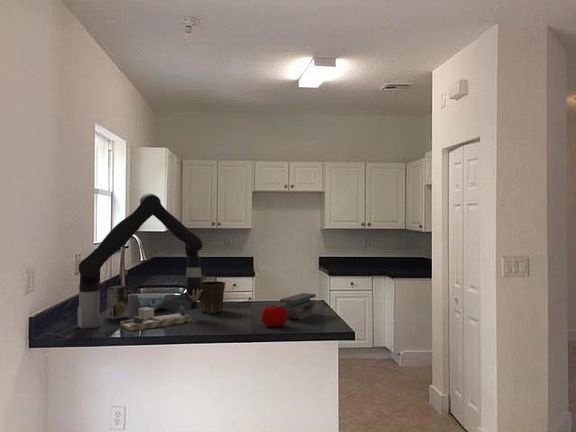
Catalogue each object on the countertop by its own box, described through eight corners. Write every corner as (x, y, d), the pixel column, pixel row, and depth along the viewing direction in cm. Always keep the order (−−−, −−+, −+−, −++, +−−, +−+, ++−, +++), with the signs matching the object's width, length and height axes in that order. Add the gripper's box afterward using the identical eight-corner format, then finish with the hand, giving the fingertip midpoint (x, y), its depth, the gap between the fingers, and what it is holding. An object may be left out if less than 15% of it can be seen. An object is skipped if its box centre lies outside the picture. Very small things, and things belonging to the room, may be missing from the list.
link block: (144, 321, 264) (144, 309, 264) (138, 319, 269) (138, 308, 269) (153, 320, 267) (153, 308, 267) (147, 318, 272) (147, 306, 272)
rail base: (131, 330, 242) (131, 321, 242) (119, 326, 252) (119, 317, 252) (191, 321, 263) (191, 312, 263) (178, 318, 273) (178, 309, 273)
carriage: (160, 322, 254) (160, 311, 254) (152, 319, 261) (152, 309, 261) (189, 318, 265) (189, 307, 265) (180, 315, 272) (180, 305, 272)
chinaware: (149, 312, 290) (149, 298, 290) (132, 309, 299) (132, 296, 299) (170, 308, 302) (170, 295, 302) (153, 306, 311) (153, 293, 311)
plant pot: (200, 315, 281) (200, 285, 281) (193, 310, 296) (193, 282, 296) (229, 313, 288) (229, 283, 288) (220, 308, 302) (220, 280, 302)
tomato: (290, 328, 248) (290, 306, 248) (264, 329, 245) (264, 307, 245) (283, 323, 259) (283, 302, 259) (259, 325, 255) (259, 304, 255)
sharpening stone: (303, 312, 289) (303, 293, 289) (315, 314, 285) (315, 294, 285) (280, 320, 267) (280, 299, 267) (293, 321, 263) (293, 300, 263)
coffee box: (121, 315, 281) (121, 285, 281) (128, 316, 277) (128, 286, 277) (106, 317, 274) (106, 287, 274) (113, 319, 270) (113, 288, 270)
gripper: (186, 277, 265) (186, 311, 265) (208, 275, 273) (208, 308, 273) (178, 276, 270) (178, 309, 270) (200, 274, 279) (200, 306, 279)
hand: (193, 309), depth 272 cm, fingers closed
